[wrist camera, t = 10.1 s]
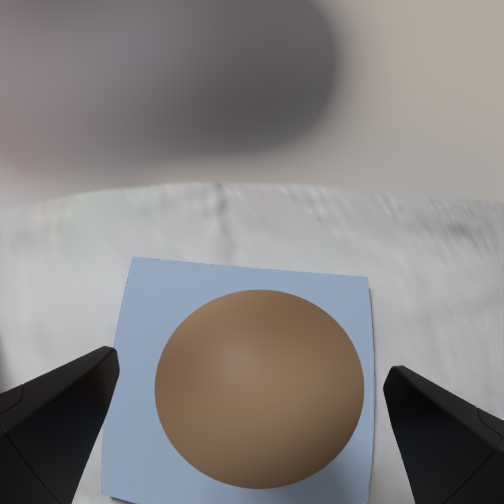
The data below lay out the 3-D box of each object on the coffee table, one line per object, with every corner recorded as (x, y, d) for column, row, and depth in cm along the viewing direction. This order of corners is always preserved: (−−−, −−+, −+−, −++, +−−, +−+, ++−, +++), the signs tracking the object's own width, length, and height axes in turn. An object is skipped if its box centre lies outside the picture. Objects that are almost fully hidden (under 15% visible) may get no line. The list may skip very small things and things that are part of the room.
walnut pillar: (305, 414, 15) (395, 420, 6) (222, 453, 13) (213, 517, 5) (264, 338, 17) (303, 260, 8) (182, 374, 16) (124, 335, 7)
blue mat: (361, 505, 12) (366, 508, 12) (106, 490, 12) (101, 493, 11) (363, 281, 20) (367, 276, 19) (135, 262, 20) (132, 256, 19)
